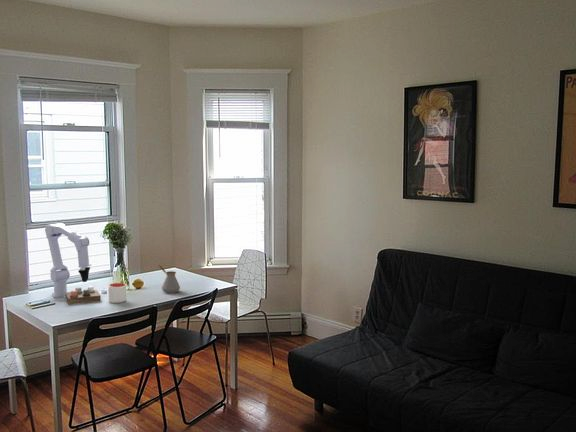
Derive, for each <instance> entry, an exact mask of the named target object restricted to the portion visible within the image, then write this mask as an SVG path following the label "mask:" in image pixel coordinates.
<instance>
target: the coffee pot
mask: <svg viewBox="0 0 576 432" xmlns="http://www.w3.org/2000/svg"><path fill="white" fill-rule="evenodd" d="M157 268H160V269H161V271H162V272H163V273H165V275H166V277H165V279H164V281H163V284H162V285H161V289H162V291H163V292H164V293H165V292H166V293H165V294H176V293H177V292H179V290H180V288H181V286H180V284H179V282H178V278H177V277H176V273H177V271H172V270H171V271H167V270H165V269H164V268H163V267H162V265H161V264H158V266H157ZM175 292H176V293H175Z"/></svg>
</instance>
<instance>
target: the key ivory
mask: <svg viewBox="0 0 576 432" xmlns="http://www.w3.org/2000/svg"><path fill="white" fill-rule="evenodd" d="M94 287H95V286H93V285H89V286H87V289H88V290H89V293H94V290H95V289H94Z"/></svg>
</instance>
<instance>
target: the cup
mask: <svg viewBox="0 0 576 432" xmlns="http://www.w3.org/2000/svg"><path fill="white" fill-rule="evenodd" d="M126 300H127V284H126V283H123V282H114V283H109V284H108V302H110V303H111V304H112V303H113V304H119V303H120V304H121V303H124V302H126Z"/></svg>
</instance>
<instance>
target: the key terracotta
mask: <svg viewBox="0 0 576 432" xmlns="http://www.w3.org/2000/svg"><path fill="white" fill-rule="evenodd" d="M70 292H71V298H73V297H77V291H75V290H71V291H70Z"/></svg>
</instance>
